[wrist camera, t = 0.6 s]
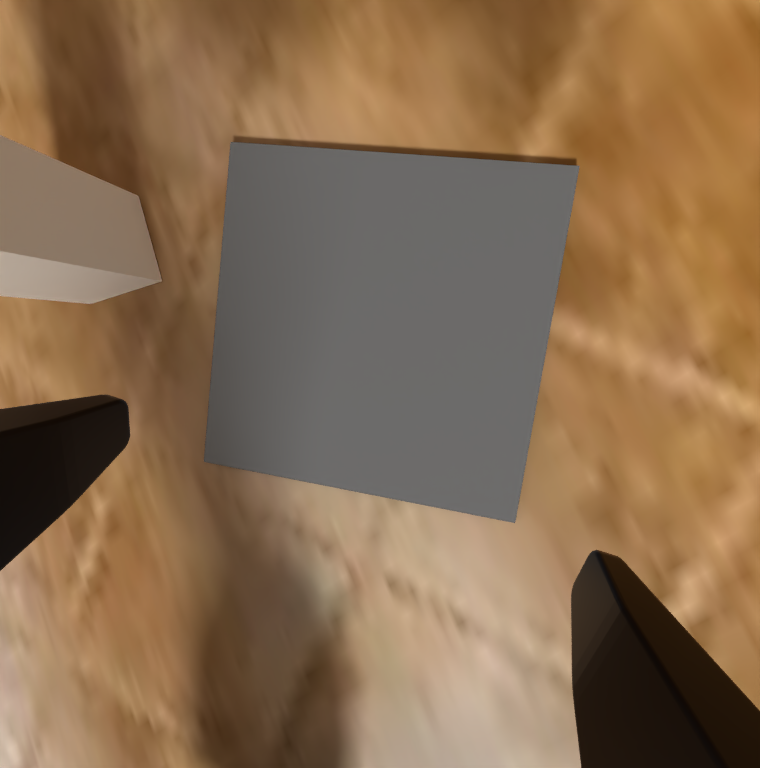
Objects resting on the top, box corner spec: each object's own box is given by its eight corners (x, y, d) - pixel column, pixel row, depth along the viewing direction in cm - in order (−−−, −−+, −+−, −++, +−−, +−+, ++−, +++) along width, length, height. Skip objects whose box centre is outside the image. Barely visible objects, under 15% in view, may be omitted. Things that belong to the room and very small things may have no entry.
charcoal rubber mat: (514, 519, 21) (515, 522, 21) (208, 459, 24) (203, 461, 23) (577, 169, 19) (579, 166, 19) (234, 145, 22) (230, 141, 21)
